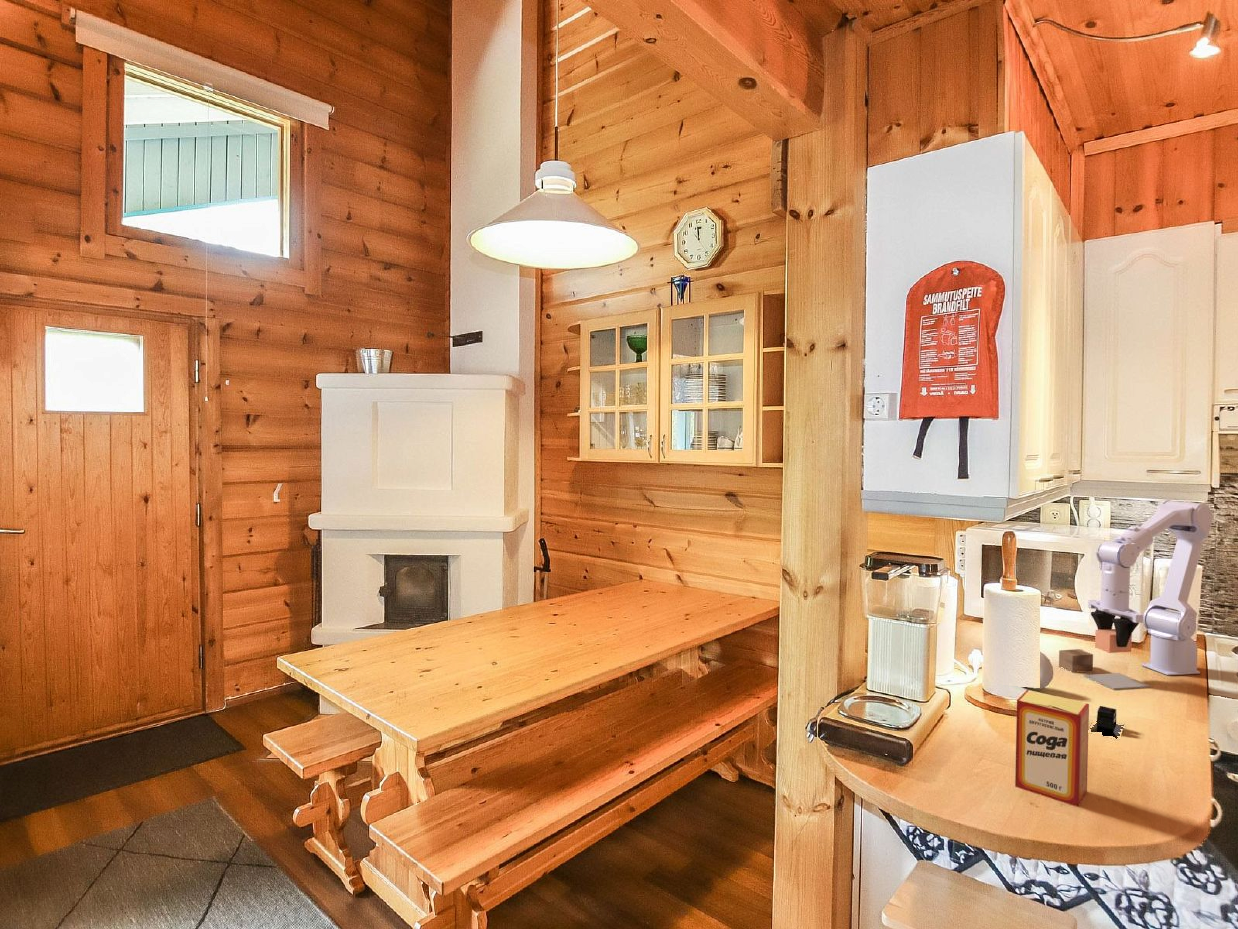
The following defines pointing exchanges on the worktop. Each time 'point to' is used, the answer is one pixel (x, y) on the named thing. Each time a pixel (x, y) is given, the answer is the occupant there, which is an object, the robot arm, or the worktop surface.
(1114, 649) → the terracotta block
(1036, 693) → the baking soda box
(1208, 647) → the worktop surface
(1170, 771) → the worktop surface
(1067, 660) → the walnut block
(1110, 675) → the baseplate
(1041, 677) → the grey rounded piece
